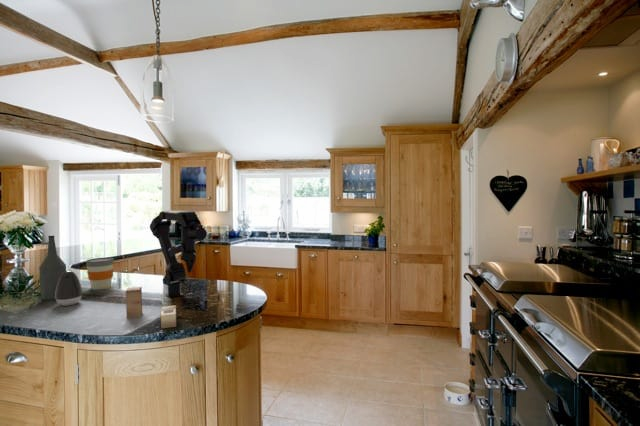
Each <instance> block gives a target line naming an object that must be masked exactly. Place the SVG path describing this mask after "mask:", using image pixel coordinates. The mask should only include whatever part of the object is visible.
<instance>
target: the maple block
mask: <svg viewBox="0 0 640 426" xmlns="http://www.w3.org/2000/svg"><path fill="white" fill-rule="evenodd" d="M176 306H177V305H166V306H162V307H161V313H160V325H161V326H160V327H161V329H166V328H175V327H177V309H176V308H177V307H176Z"/></svg>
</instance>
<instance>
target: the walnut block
mask: <svg viewBox="0 0 640 426" xmlns="http://www.w3.org/2000/svg"><path fill="white" fill-rule="evenodd" d="M142 289H143V288H142V286H134V287H127V288H126V290H125V307H126V309H125V310H126V319H132V318H140V317H142V315H143V297H142V296H143V293H142V292H143V291H142Z"/></svg>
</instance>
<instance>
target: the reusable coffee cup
mask: <svg viewBox="0 0 640 426" xmlns="http://www.w3.org/2000/svg"><path fill="white" fill-rule="evenodd" d="M114 263H115V262H114V258H113V257H96V258H89V259H87V260H86V268H87V271H86V273H87V279H88V280H89V283H90V284H89V285H90V289H91V290H104V289H109V288H111V286H112V279H113V276H114Z"/></svg>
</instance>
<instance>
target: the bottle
mask: <svg viewBox="0 0 640 426" xmlns="http://www.w3.org/2000/svg"><path fill="white" fill-rule="evenodd" d="M55 237H56V236H55V235H48V241H47V242H48V243H47V253H46V256H45V258H44V260H43V261H42V262H41V264H40V265H39V268H38V269H39V287H40V289H39V290H40V299H41V300H45V301H52V300H56V299H55V291H56V286H57V282H58V280H59V277H60V276H61V274H62V273H63V272H65V271H67V265H66V263H65V262H64V261H63V260H62V259H61V257H60V256H59V255H58V252H57V247H56V242H55Z"/></svg>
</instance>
